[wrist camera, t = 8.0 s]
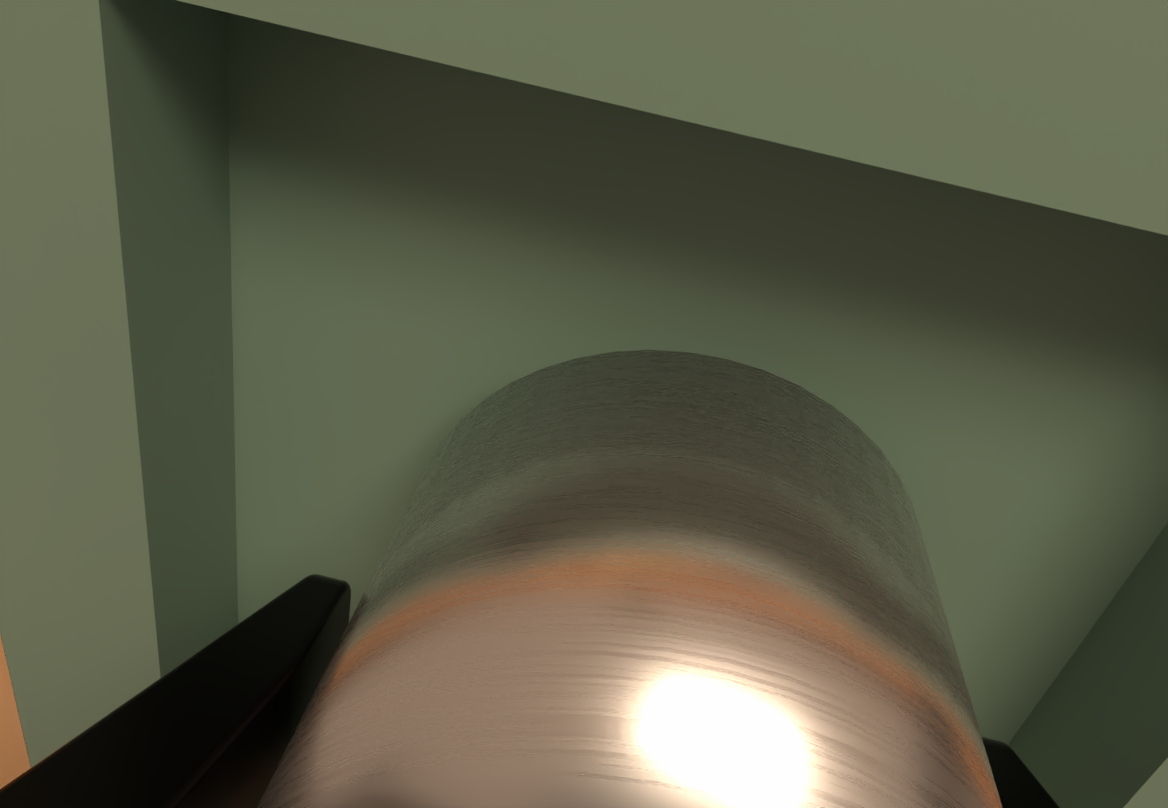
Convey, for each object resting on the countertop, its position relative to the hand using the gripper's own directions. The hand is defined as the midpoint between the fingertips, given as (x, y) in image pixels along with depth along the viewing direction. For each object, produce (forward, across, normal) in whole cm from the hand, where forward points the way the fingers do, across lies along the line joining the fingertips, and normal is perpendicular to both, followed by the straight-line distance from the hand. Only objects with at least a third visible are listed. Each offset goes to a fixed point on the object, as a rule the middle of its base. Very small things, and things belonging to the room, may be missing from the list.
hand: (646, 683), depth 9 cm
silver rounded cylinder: (+2, 0, 0) cm, 2 cm away
